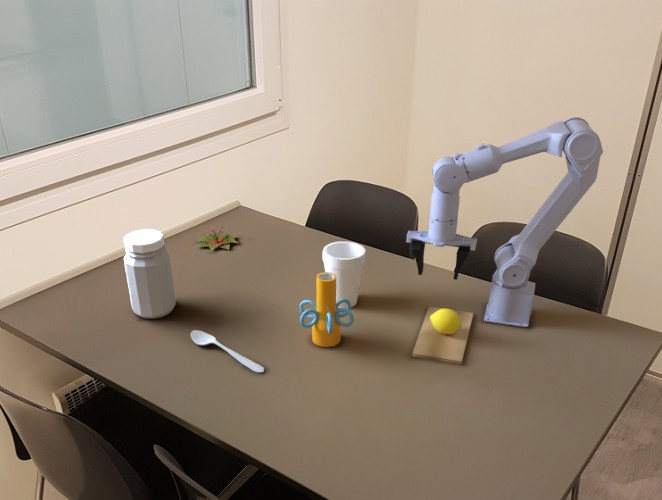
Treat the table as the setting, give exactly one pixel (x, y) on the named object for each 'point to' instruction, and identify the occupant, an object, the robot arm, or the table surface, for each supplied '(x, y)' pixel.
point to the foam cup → (345, 269)
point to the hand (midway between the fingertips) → (438, 275)
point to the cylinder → (326, 312)
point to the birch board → (443, 340)
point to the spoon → (205, 339)
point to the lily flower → (217, 240)
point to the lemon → (446, 321)
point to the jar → (149, 274)
